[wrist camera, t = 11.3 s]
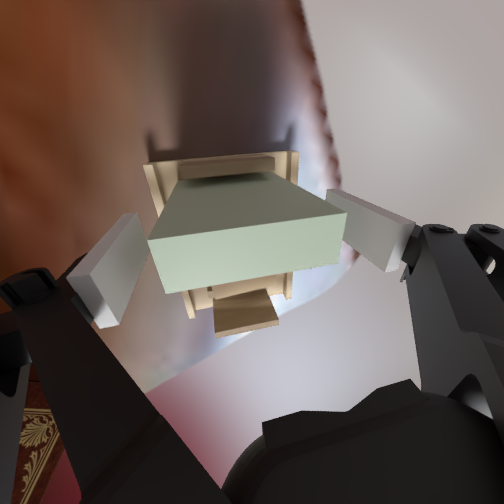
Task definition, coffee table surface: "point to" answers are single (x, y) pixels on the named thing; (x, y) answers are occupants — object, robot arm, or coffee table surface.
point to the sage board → (242, 231)
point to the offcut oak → (242, 286)
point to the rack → (225, 309)
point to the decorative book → (36, 449)
